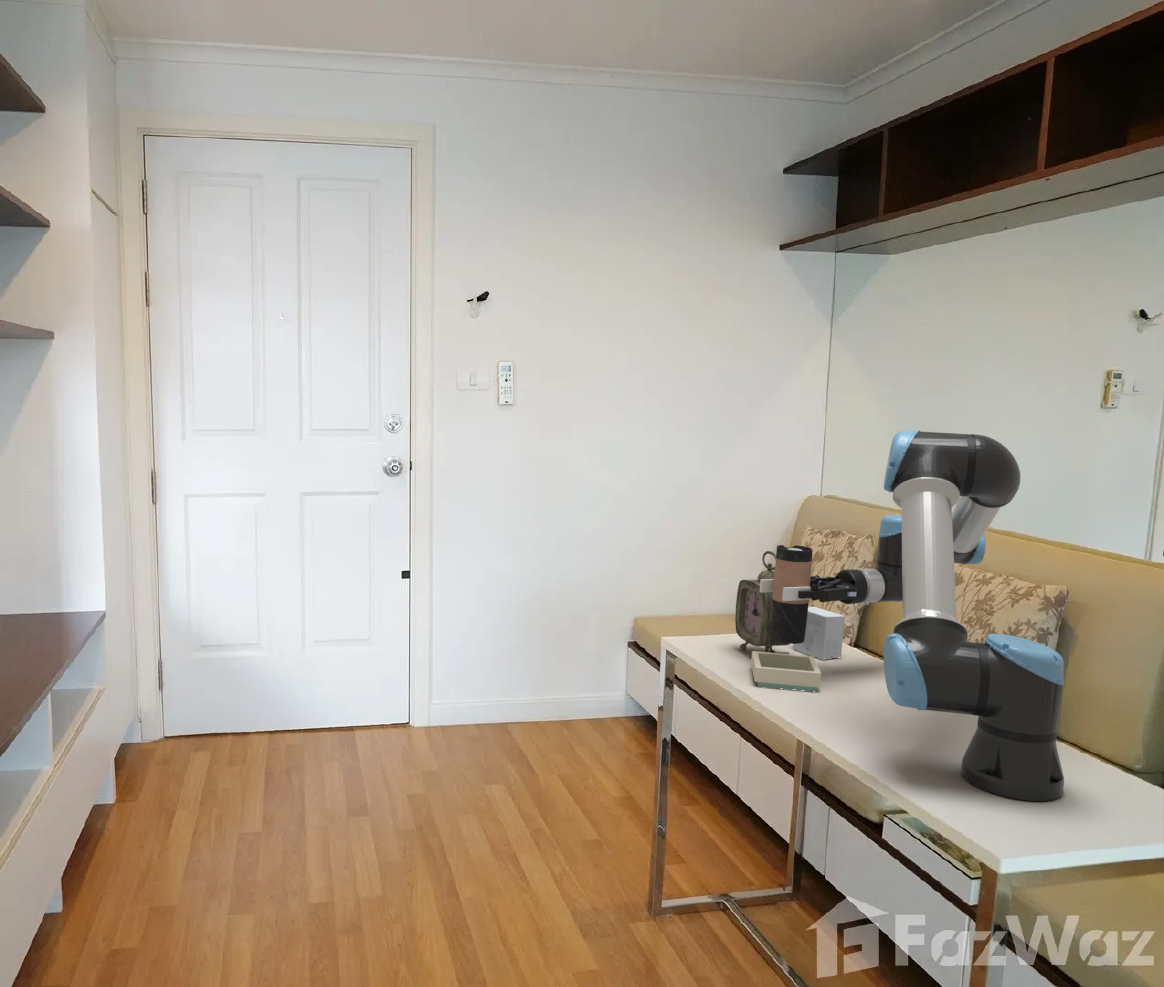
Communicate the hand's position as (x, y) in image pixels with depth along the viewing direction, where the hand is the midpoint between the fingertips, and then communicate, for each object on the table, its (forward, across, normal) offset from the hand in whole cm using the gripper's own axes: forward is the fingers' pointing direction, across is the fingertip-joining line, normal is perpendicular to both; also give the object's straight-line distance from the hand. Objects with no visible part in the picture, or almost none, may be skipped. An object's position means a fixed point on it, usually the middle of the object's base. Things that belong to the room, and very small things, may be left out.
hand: (772, 590), depth 199 cm
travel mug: (-5, 0, -11) cm, 12 cm away
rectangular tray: (-6, +1, -20) cm, 21 cm away
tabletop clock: (-11, +16, -20) cm, 28 cm away
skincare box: (-26, +16, -20) cm, 37 cm away
